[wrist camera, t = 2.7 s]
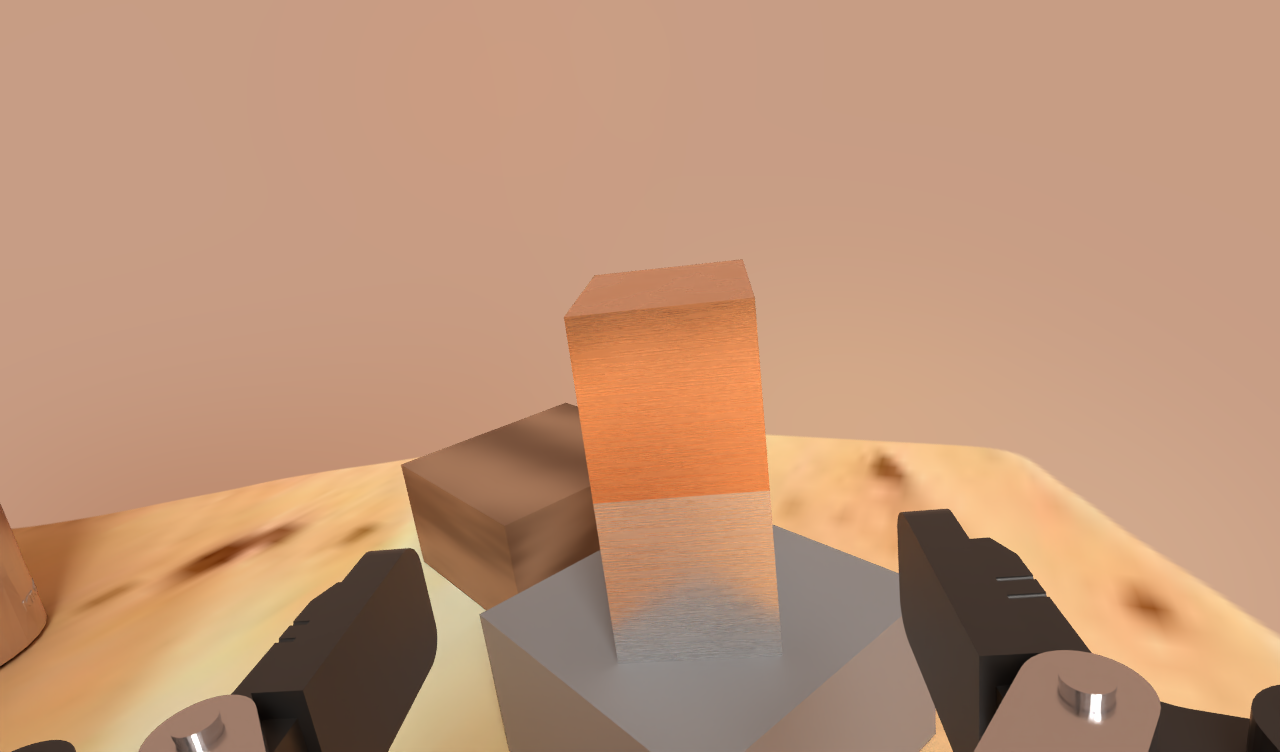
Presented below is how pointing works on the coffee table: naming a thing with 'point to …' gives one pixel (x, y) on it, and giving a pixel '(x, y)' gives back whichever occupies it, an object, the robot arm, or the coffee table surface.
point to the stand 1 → (506, 505)
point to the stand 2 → (715, 669)
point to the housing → (678, 460)
